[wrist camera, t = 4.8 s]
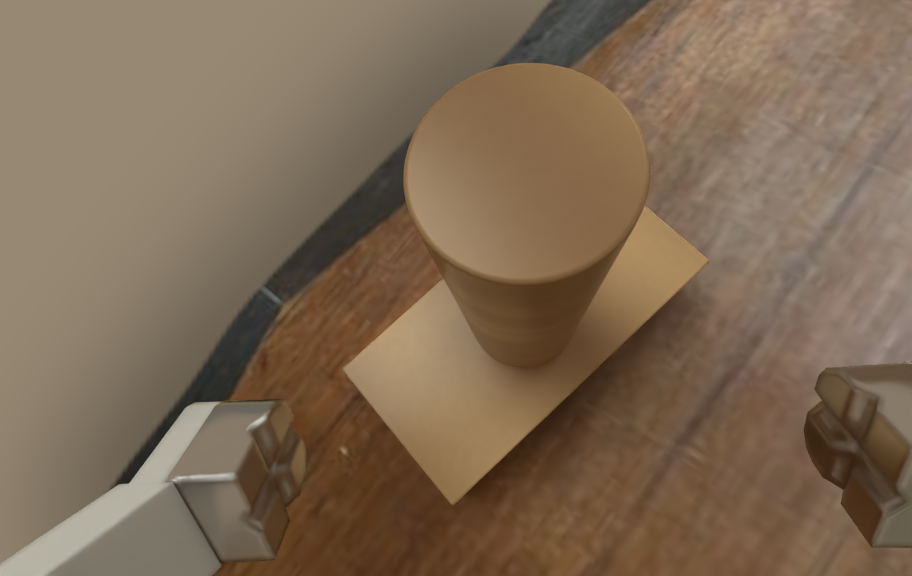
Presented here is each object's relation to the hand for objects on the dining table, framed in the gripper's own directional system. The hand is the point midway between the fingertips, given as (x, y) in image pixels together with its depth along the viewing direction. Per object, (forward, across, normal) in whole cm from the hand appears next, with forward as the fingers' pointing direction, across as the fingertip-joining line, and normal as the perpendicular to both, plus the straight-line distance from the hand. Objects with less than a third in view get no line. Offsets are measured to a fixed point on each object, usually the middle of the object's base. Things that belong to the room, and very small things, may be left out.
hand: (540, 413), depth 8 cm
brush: (+9, 0, +4) cm, 10 cm away
